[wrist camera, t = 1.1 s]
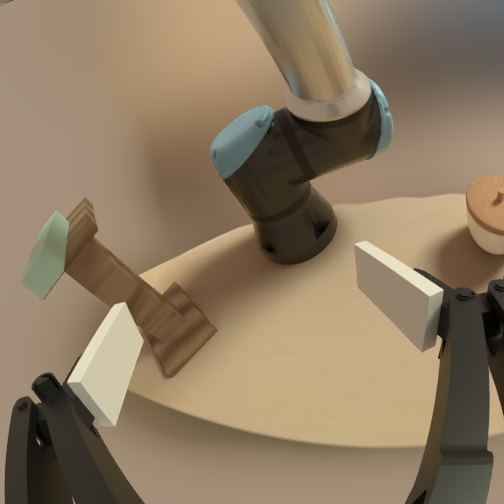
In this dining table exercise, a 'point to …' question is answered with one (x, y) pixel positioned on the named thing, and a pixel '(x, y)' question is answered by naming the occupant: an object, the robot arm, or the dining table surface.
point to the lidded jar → (487, 213)
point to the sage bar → (47, 257)
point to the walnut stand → (135, 294)
